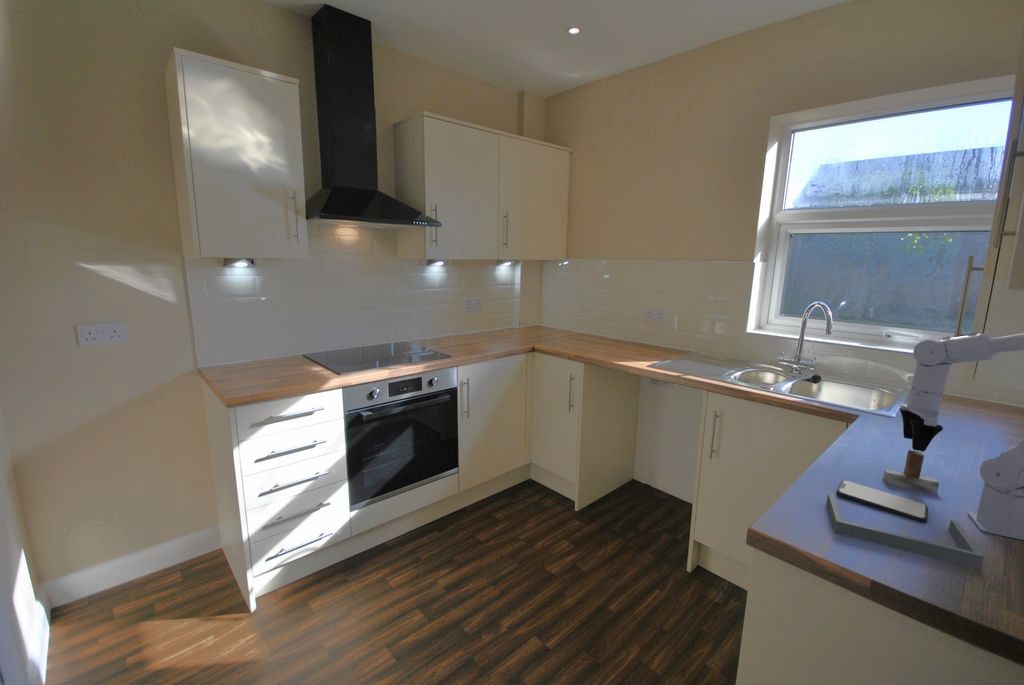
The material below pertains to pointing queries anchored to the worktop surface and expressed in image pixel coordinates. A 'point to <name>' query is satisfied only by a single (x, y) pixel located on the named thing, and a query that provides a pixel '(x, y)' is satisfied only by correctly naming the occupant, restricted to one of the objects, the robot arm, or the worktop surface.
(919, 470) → the scraper
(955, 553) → the dock
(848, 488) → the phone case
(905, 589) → the worktop surface
